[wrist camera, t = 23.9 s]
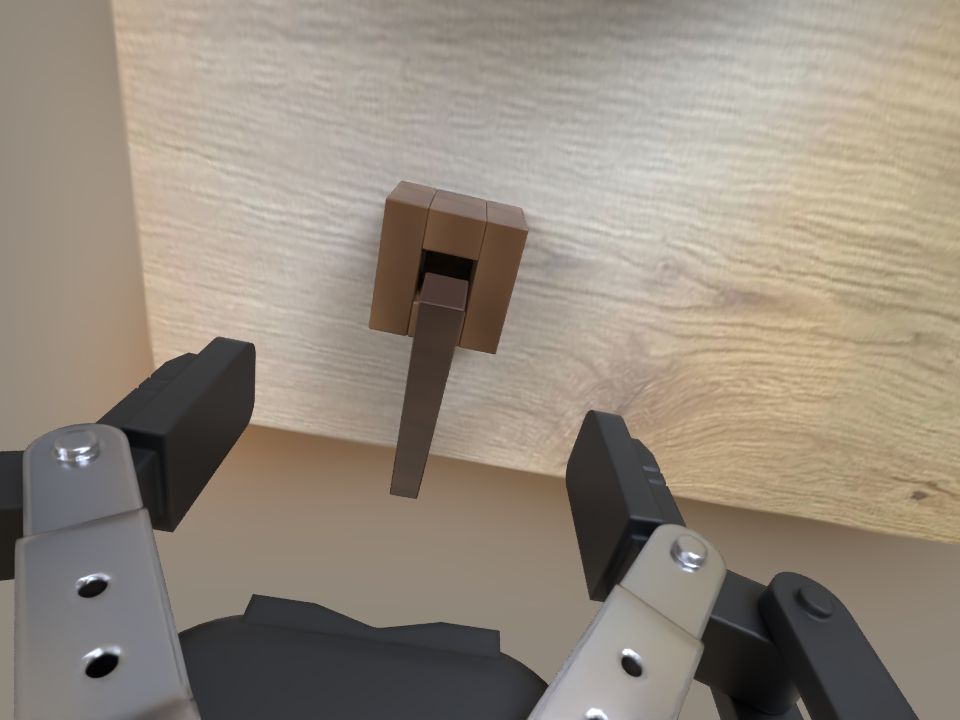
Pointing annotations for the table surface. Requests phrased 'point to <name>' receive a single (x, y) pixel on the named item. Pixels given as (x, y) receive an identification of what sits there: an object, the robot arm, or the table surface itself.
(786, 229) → the table surface
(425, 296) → the stirring stick
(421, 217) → the stick stand
